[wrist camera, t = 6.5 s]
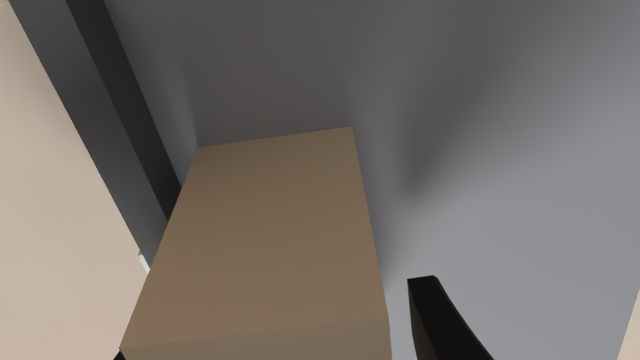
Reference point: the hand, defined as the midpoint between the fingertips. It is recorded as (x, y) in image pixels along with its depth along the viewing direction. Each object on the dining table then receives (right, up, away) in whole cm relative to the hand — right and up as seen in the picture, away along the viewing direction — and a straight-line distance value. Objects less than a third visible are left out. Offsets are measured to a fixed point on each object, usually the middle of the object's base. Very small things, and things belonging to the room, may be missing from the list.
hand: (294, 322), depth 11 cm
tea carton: (0, +2, +2) cm, 3 cm away
